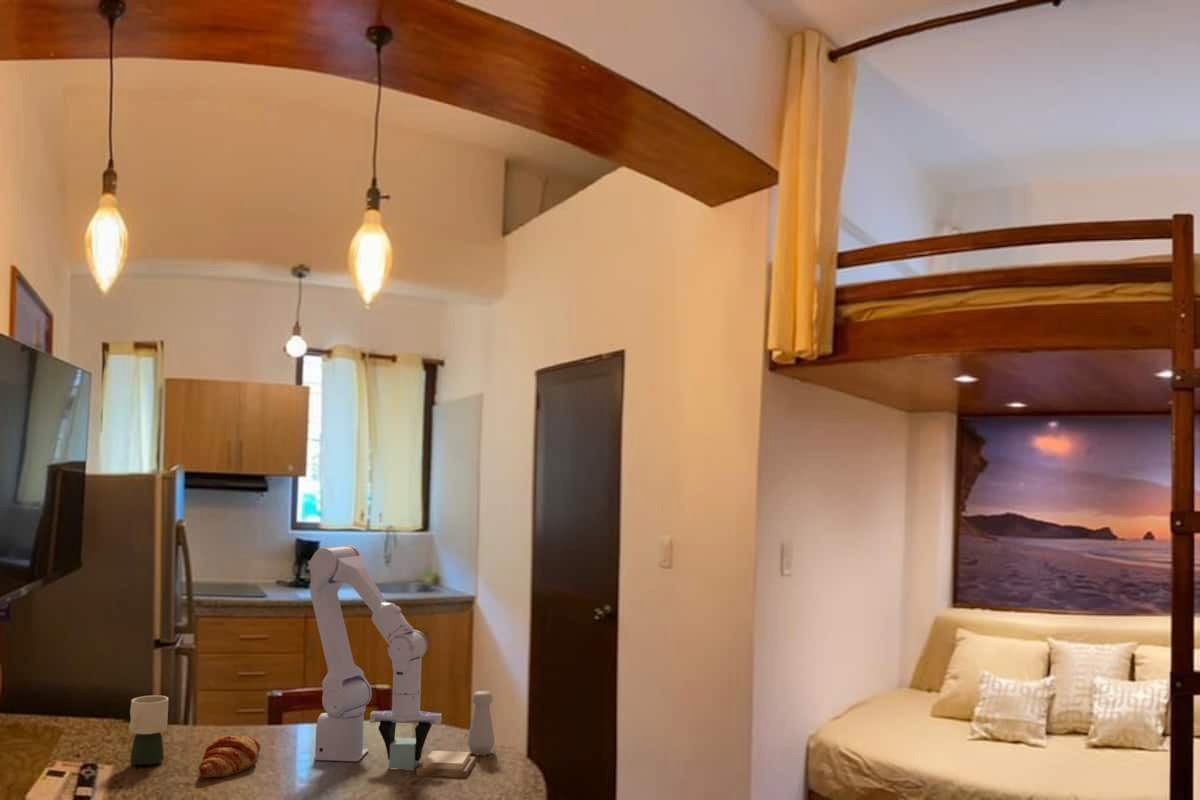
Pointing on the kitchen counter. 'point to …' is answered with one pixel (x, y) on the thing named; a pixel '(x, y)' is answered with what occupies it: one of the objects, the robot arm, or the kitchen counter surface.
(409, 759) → the teal block
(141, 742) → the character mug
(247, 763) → the croissant
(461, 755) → the wooden base
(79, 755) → the kitchen counter surface
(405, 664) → the robot arm
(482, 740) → the salt shaker
